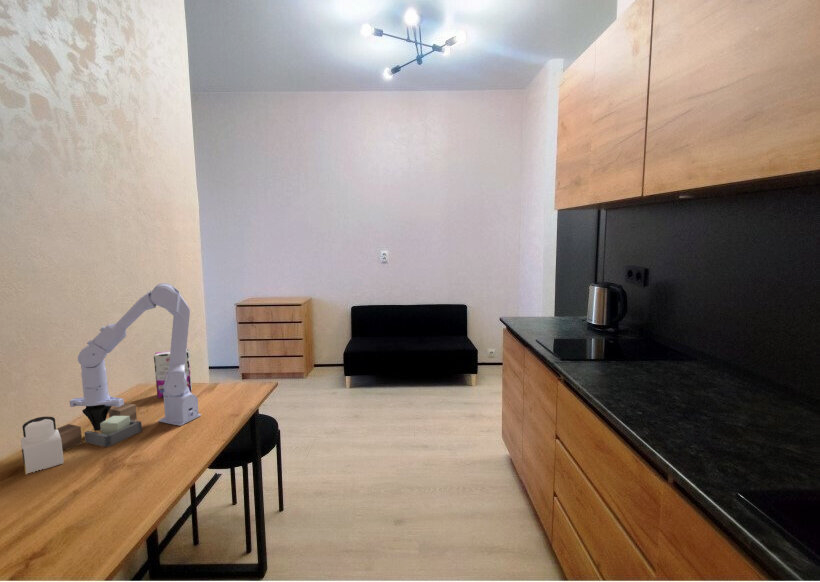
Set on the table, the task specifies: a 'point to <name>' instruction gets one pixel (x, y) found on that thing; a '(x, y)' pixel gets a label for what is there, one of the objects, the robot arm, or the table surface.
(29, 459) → the white handled block
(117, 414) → the walnut block
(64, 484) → the table surface
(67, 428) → the walnut block
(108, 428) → the sage block
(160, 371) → the candy bar box
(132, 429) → the corral
